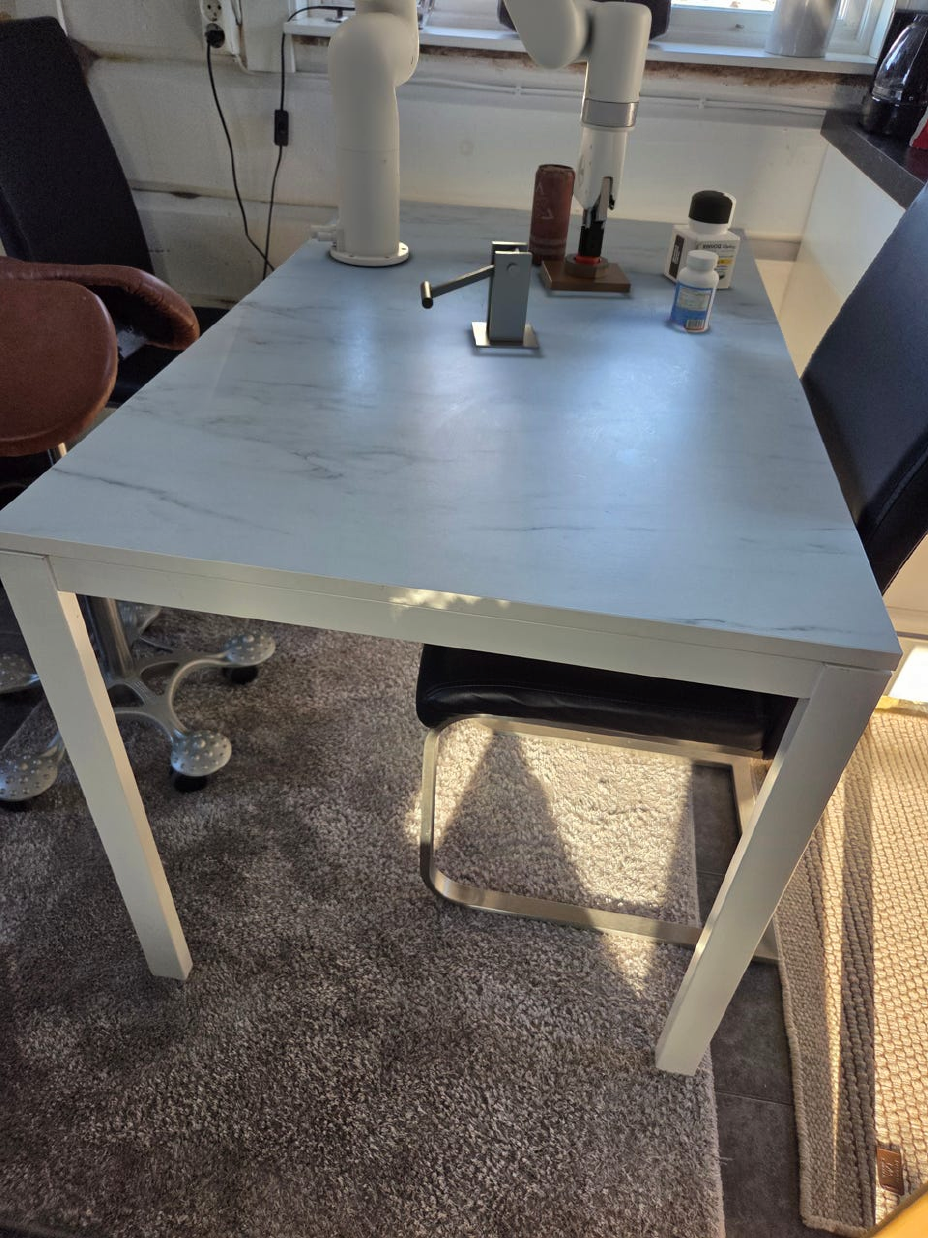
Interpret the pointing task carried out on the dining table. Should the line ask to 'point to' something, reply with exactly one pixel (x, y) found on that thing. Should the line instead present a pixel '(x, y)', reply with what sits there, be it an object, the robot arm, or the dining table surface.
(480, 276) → the tap lever
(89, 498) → the dining table surface
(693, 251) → the pill bottle
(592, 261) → the button
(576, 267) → the button block
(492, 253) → the grey lever stand
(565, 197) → the can
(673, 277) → the container
